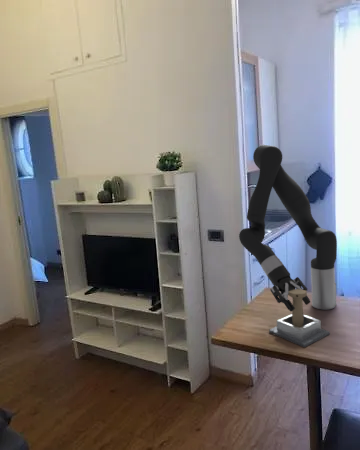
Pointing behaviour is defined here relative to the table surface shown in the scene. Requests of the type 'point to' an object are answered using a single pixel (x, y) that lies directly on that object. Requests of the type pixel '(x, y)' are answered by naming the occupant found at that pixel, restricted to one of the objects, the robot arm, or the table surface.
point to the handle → (297, 306)
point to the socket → (300, 330)
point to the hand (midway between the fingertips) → (300, 306)
